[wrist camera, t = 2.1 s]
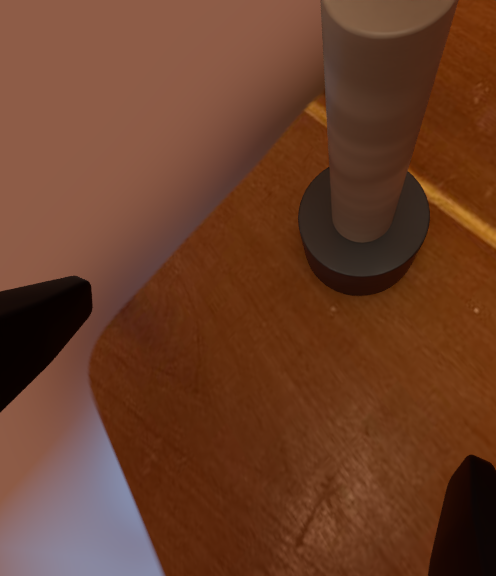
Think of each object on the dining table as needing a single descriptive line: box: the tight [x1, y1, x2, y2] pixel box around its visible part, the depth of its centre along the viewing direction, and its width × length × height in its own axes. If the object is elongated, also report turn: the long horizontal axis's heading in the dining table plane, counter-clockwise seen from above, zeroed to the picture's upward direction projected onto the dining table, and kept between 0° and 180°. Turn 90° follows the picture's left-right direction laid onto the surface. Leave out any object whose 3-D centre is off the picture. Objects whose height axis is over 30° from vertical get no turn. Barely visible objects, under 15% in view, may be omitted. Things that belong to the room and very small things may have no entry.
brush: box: [298, 0, 458, 296], centre depth 16 cm, size 6×6×16 cm
